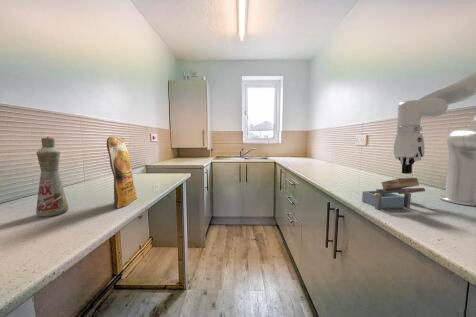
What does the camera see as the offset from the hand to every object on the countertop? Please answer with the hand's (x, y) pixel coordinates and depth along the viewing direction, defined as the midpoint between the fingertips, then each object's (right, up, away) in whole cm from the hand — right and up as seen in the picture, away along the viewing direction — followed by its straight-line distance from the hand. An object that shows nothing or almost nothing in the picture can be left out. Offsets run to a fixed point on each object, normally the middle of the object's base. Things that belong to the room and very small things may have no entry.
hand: (406, 173), depth 87 cm
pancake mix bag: (-122, -13, -1) cm, 123 cm away
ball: (-14, -10, -2) cm, 17 cm away
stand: (-13, -13, -9) cm, 20 cm away
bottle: (-140, -14, -13) cm, 142 cm away
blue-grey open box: (-14, -13, -4) cm, 19 cm away
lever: (-9, -7, -8) cm, 14 cm away
